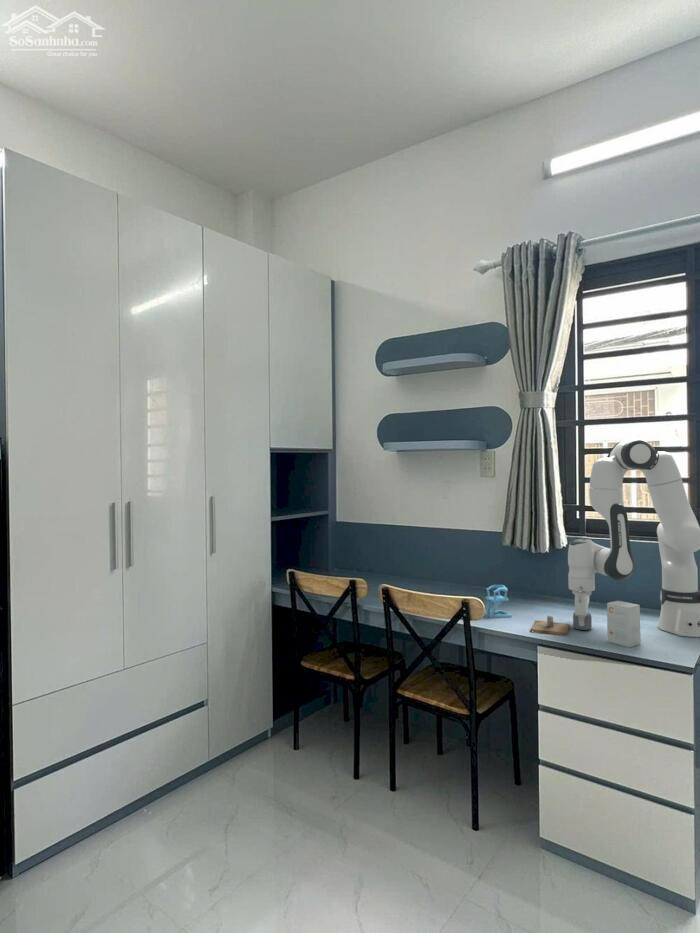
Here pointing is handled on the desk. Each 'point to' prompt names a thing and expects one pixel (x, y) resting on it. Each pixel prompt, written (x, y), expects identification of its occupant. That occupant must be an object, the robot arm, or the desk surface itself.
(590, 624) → the knob
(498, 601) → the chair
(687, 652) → the desk surface
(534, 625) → the wooden peg board
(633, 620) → the small box
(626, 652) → the desk surface
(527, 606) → the desk surface
